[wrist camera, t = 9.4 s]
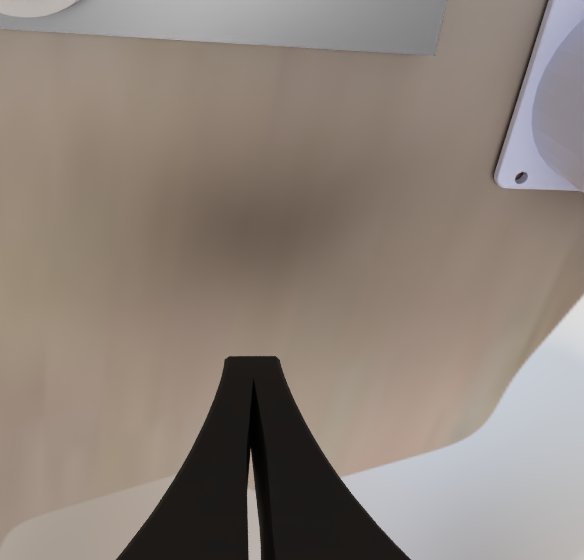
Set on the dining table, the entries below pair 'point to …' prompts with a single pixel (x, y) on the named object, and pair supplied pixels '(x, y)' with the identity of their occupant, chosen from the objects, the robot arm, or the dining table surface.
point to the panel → (244, 21)
